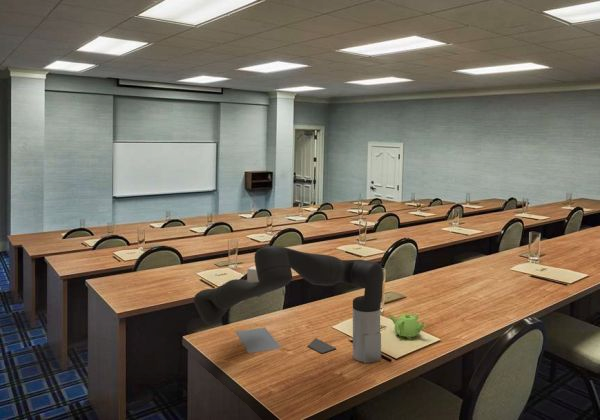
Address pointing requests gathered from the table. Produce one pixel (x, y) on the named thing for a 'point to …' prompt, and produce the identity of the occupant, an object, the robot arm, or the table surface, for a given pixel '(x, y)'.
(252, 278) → the block
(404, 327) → the teapot
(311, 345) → the smartphone
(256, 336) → the desk mat
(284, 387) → the table surface
